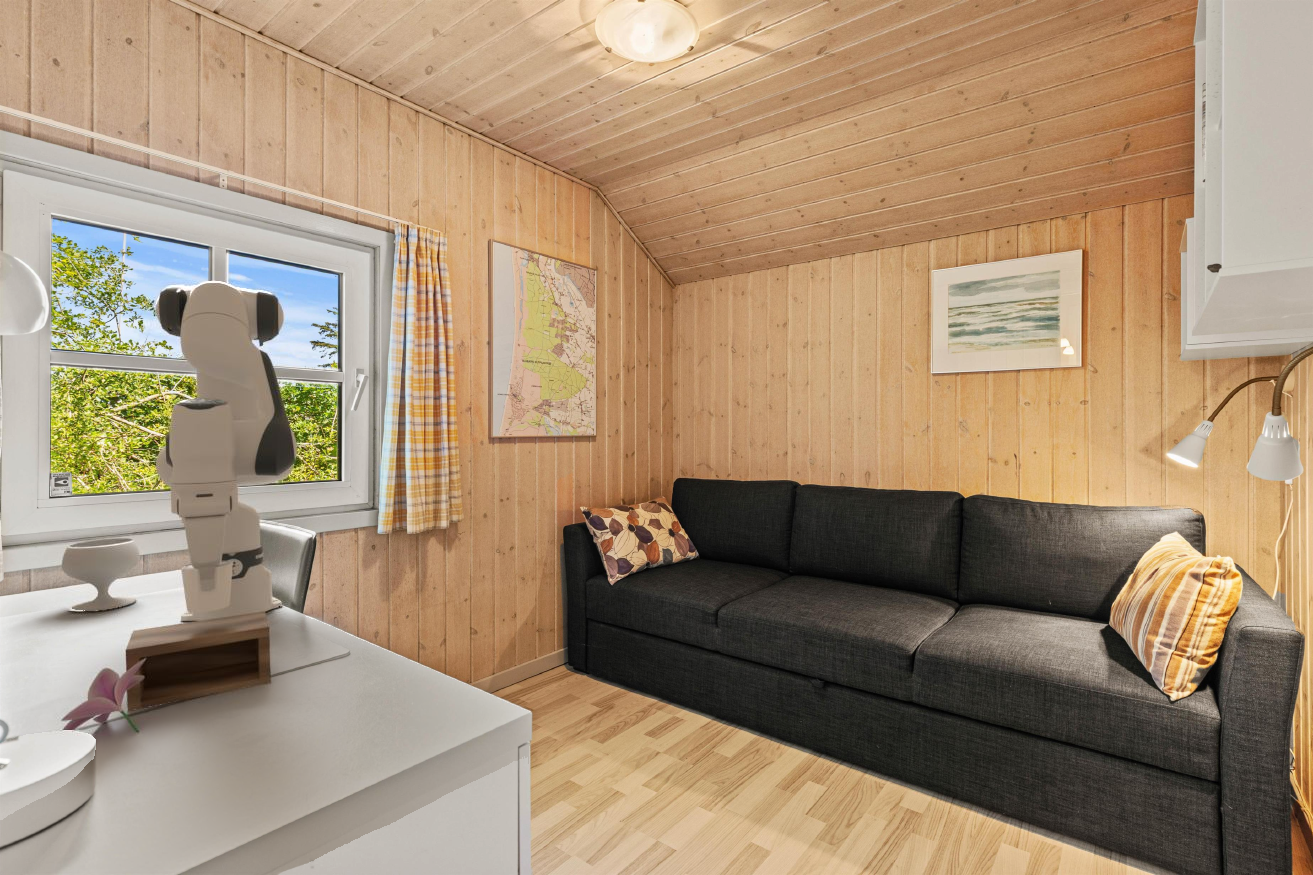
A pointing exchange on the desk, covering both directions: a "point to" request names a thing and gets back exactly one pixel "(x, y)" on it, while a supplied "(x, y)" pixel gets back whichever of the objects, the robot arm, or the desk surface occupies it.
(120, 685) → the lily
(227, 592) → the cream tapered cup
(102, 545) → the chalice
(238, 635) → the walnut shelf
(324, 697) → the desk surface
